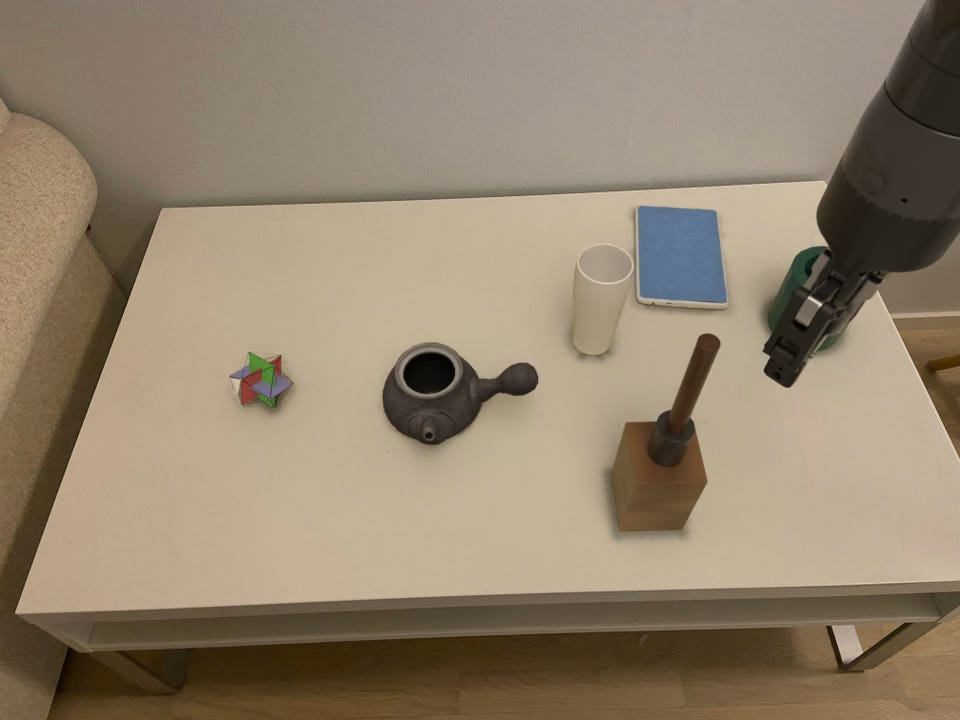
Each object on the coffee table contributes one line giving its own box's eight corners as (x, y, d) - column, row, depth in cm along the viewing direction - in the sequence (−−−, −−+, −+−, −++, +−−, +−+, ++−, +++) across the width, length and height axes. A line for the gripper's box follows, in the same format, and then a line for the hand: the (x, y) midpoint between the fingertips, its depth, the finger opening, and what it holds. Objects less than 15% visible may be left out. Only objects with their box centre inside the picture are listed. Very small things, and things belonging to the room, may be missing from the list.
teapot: (380, 471, 83) (367, 428, 75) (387, 365, 92) (376, 316, 84) (539, 466, 83) (544, 423, 74) (530, 360, 92) (534, 311, 84)
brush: (688, 444, 70) (738, 334, 56) (676, 473, 68) (724, 366, 54) (654, 429, 71) (694, 318, 57) (642, 457, 70) (679, 349, 55)
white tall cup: (555, 340, 93) (563, 262, 81) (589, 313, 96) (603, 233, 84) (593, 370, 90) (607, 293, 78) (627, 342, 93) (647, 263, 81)
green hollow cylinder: (847, 312, 95) (879, 261, 87) (831, 362, 90) (864, 312, 82) (777, 288, 98) (802, 236, 90) (759, 335, 93) (783, 285, 85)
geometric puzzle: (271, 344, 91) (230, 340, 84) (312, 366, 89) (273, 363, 82) (251, 394, 92) (208, 394, 85) (291, 417, 90) (250, 419, 82)
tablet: (728, 311, 96) (730, 305, 95) (635, 305, 97) (636, 298, 96) (716, 215, 107) (719, 208, 106) (633, 210, 108) (635, 203, 107)
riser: (670, 473, 82) (693, 420, 72) (681, 530, 78) (708, 482, 68) (610, 474, 82) (625, 422, 72) (618, 531, 78) (635, 484, 68)
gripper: (920, 271, 34) (803, 435, 48) (1036, 141, 40) (902, 319, 53) (785, 199, 38) (710, 371, 51) (910, 88, 43) (813, 269, 56)
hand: (809, 344), depth 52 cm, fingers open, 8 cm apart
